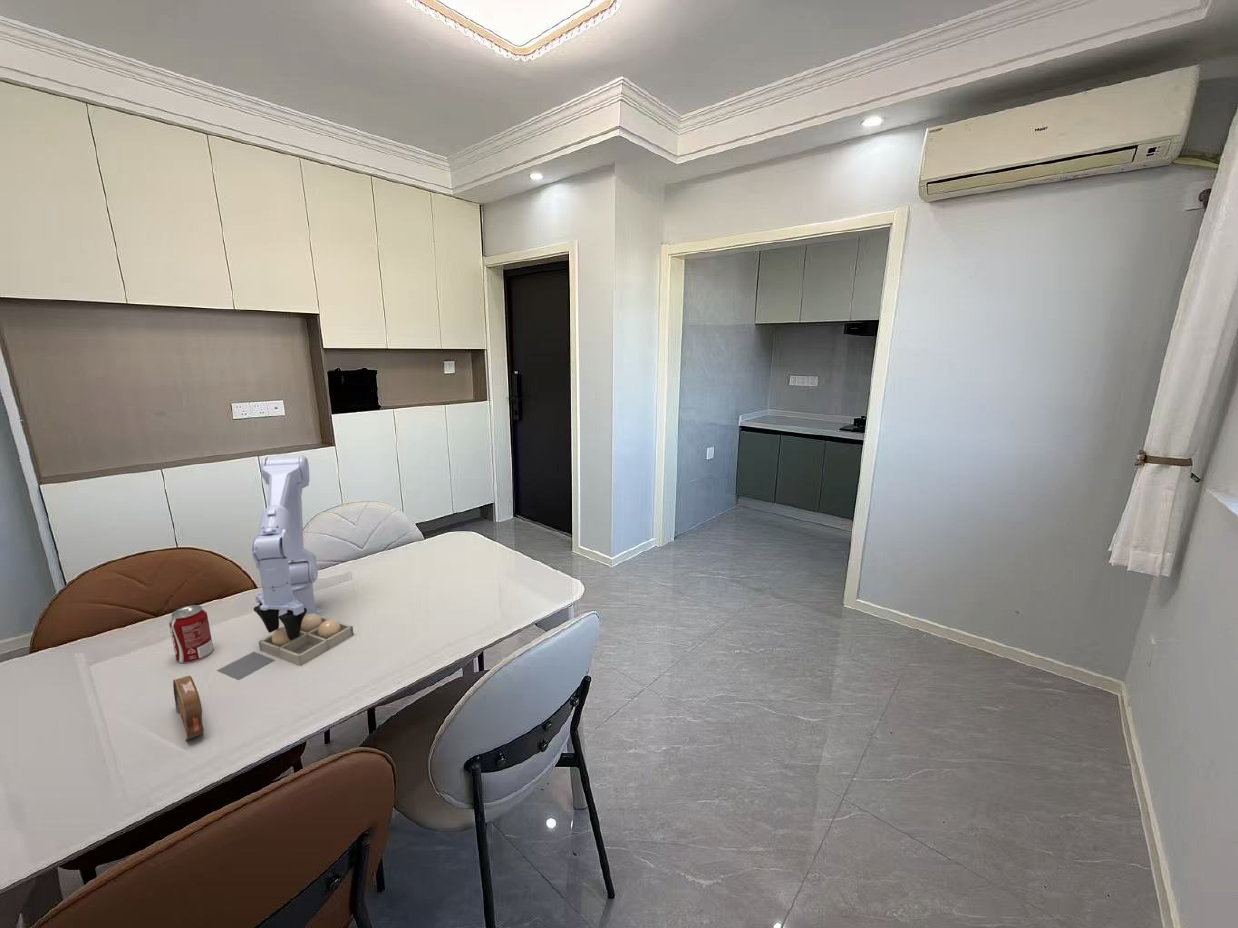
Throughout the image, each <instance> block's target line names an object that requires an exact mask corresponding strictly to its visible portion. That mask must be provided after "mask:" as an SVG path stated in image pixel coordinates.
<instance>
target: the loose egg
mask: <svg viewBox="0 0 1238 928" xmlns="http://www.w3.org/2000/svg"><path fill="white" fill-rule="evenodd" d="M272 635H273V636H272V643H273V645H275V646H278V647H281V646H283V645H285V644H287V643H289V642H291V641H293V640H295V639H296V638H295V639H293V640H289V638H288V636H287V632H286V629H285V626H282V627H279V629H277V630H275V631H273V633H272Z"/></svg>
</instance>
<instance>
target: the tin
mask: <svg viewBox="0 0 1238 928" xmlns="http://www.w3.org/2000/svg"><path fill="white" fill-rule="evenodd" d="M192 677H193V676H190V675H186V676H183V677H181V678H177V679H175V678H174V679H173V680H172V681H173V682H172V685H173V687H172V689H173V696H174V702H175V704H174V705H175V710H176V714H179V715H180V718H181V720H182V724H183V726H184V730H185V733H186V738H185V741H188V740H191V739H193V738H195V737H198V736H200V735H202V734H203V733H204V730H205V727H204V725H203V717H202V715H203V708H202V702H201V698H200V694H199V692H198V689H197V686H196V684H195V681H194V679H193V678H192Z"/></svg>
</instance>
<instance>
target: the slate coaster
mask: <svg viewBox="0 0 1238 928" xmlns="http://www.w3.org/2000/svg"><path fill="white" fill-rule="evenodd" d="M275 661H276V659H274V658H271V657H269V656H266V655H263V654H261V653H259V652H257V651H252V652H250V653H248V654H247V655H244V656H242V657H240V658H237V660H234V661H232V662H231V663H228V664H227V665H224V666H222V667H220V668H219V669H216V671H217V672H218V673H221V674H223V675H226V676H228V677H230V678H232V679H235V680H238V681H240V680H242V679H243V678H245V677H247V676H250V675H252V674H253V673H255V672H257V671H259V670H260V669H262V668H264V667H267V666H268V665H269V664H272V663H273V662H275Z"/></svg>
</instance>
